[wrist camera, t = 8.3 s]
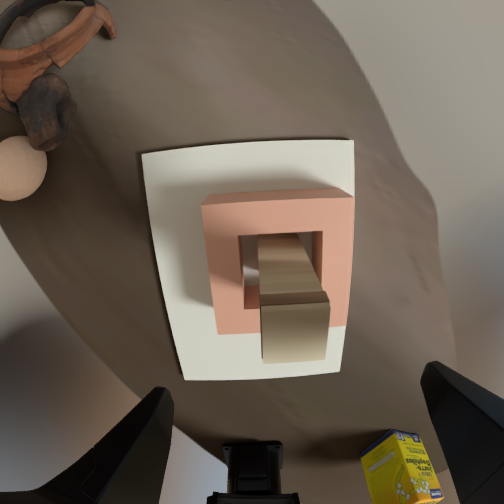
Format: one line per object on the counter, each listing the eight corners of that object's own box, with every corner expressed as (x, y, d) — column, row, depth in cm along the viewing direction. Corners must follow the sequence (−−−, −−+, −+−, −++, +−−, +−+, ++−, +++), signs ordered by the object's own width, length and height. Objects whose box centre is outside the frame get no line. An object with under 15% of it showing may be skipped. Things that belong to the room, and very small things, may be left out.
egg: (50, 122, 16) (-3, 125, 11) (67, 176, 18) (17, 192, 13) (13, 151, 17) (-36, 161, 12) (30, 200, 18) (-18, 221, 13)
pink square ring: (335, 301, 21) (346, 325, 18) (221, 309, 21) (217, 334, 18) (339, 188, 18) (354, 197, 15) (208, 194, 18) (200, 205, 15)
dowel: (297, 269, 20) (326, 360, 11) (257, 271, 20) (261, 364, 11) (297, 231, 19) (332, 306, 11) (256, 233, 19) (259, 310, 11)
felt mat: (338, 367, 24) (339, 371, 23) (185, 375, 24) (184, 379, 24) (351, 140, 17) (353, 140, 17) (144, 153, 18) (141, 154, 17)
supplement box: (418, 432, 29) (446, 497, 19) (386, 457, 31) (406, 520, 20) (391, 427, 28) (419, 501, 18) (357, 453, 30) (376, 524, 19)
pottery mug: (7, 74, 15) (-24, 14, 7) (106, 31, 18) (104, -41, 10) (24, 195, 16) (-35, 153, 8) (144, 138, 19) (145, 66, 11)
